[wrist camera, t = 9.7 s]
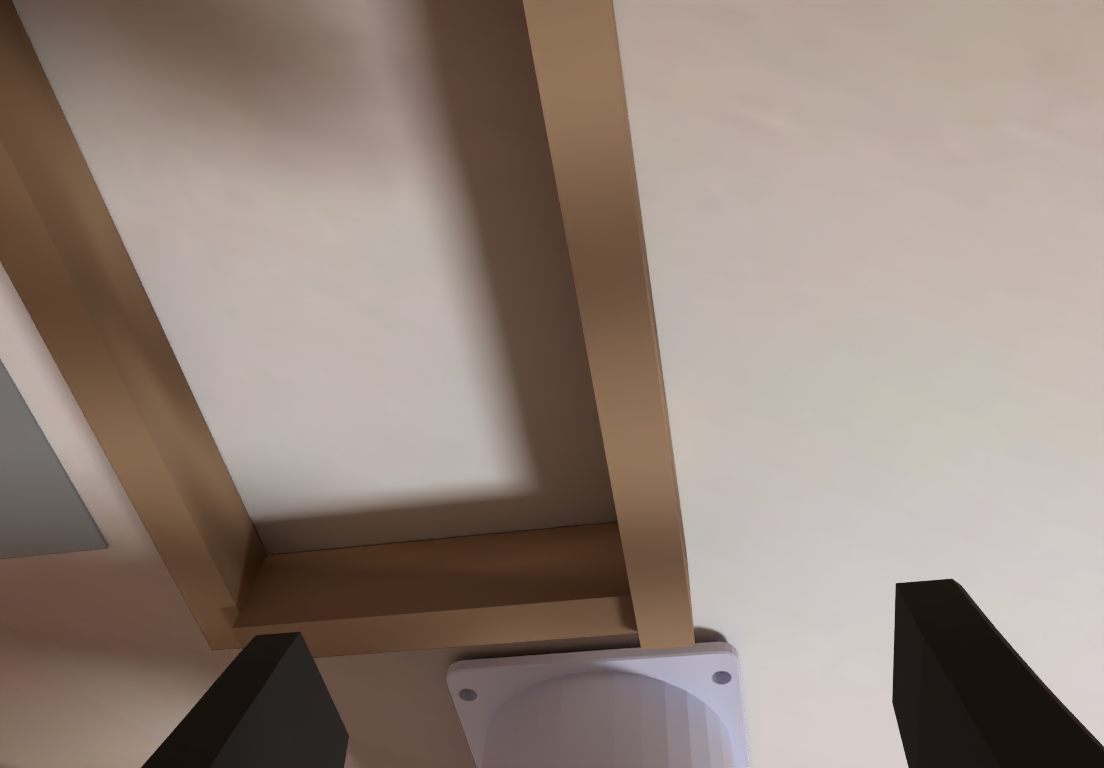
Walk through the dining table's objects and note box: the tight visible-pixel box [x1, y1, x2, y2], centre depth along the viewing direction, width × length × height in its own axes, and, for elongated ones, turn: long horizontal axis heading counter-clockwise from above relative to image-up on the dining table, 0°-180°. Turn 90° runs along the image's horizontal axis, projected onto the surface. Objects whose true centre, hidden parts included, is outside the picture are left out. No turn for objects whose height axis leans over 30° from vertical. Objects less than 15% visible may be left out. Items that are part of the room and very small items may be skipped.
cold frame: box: [0, 0, 695, 658], centre depth 17 cm, size 18×12×3 cm, turn 10°
